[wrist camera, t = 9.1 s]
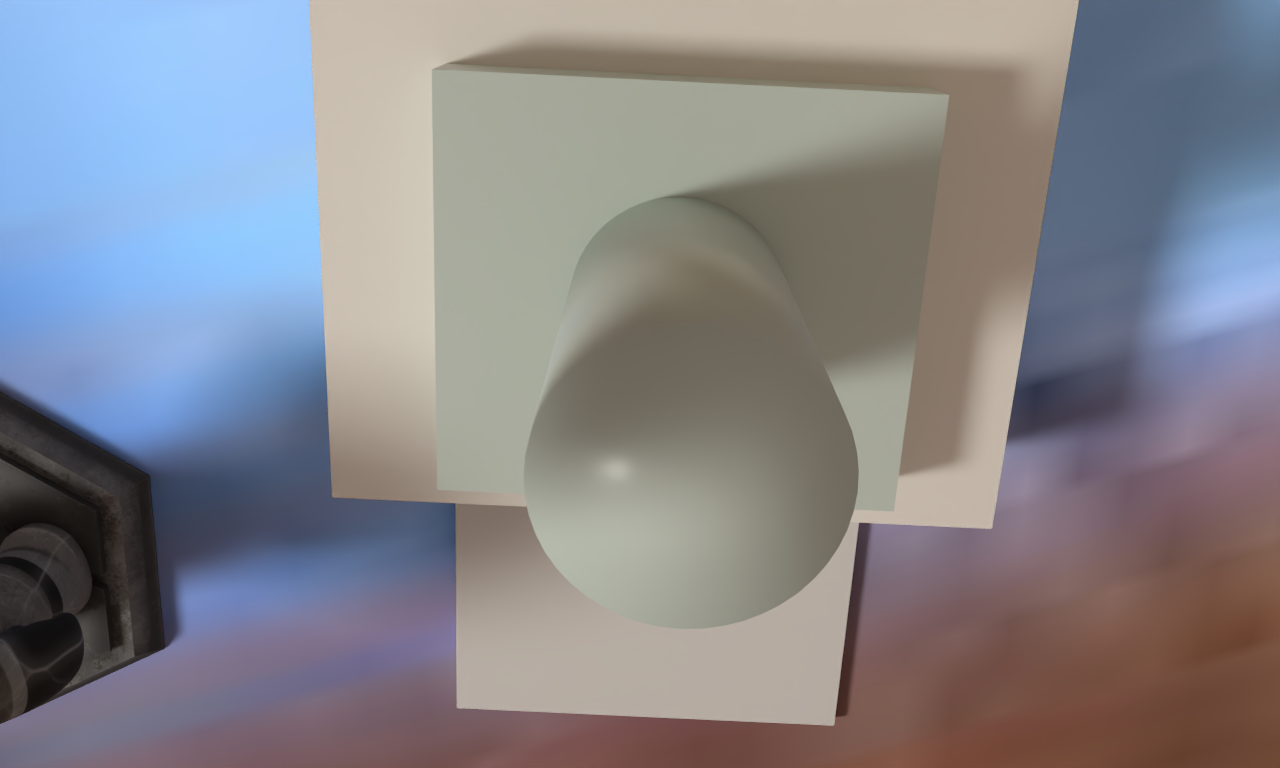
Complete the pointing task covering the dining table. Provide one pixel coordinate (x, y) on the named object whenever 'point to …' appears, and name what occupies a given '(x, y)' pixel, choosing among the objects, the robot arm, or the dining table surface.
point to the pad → (633, 640)
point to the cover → (679, 319)
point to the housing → (698, 46)
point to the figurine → (70, 562)
